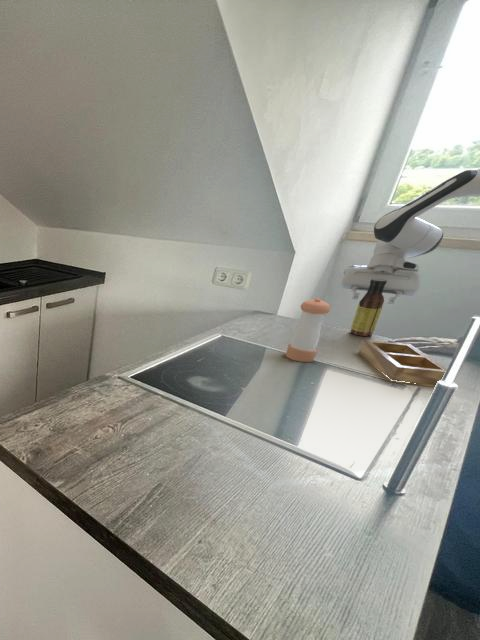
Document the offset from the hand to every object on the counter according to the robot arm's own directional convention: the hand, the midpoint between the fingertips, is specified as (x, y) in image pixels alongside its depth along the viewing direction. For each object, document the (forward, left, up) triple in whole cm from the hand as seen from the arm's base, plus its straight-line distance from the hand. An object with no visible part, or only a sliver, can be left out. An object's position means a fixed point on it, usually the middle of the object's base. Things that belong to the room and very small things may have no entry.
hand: (372, 300), depth 135 cm
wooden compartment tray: (+2, +33, -12) cm, 35 cm away
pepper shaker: (+26, +32, -12) cm, 43 cm away
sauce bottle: (0, +1, -12) cm, 12 cm away
